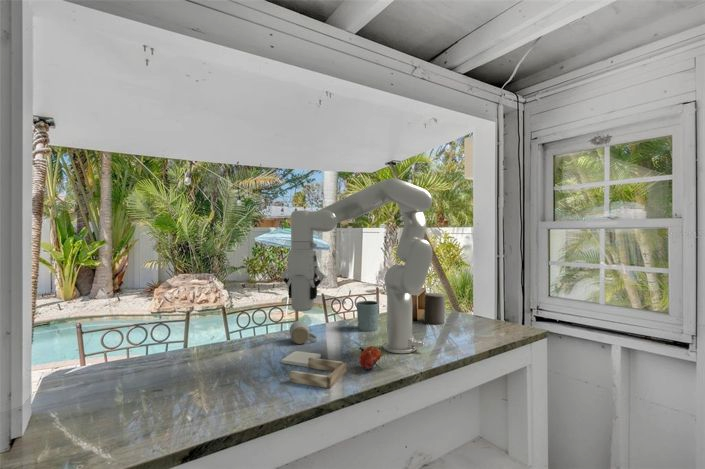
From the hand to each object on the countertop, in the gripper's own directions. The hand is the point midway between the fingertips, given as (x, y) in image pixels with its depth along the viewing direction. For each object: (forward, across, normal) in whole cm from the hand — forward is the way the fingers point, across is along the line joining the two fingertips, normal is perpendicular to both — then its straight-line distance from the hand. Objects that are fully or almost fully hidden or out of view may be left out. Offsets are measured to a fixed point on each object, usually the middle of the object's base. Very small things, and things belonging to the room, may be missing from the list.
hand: (302, 297), depth 127 cm
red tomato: (+22, -24, -1) cm, 33 cm away
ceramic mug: (+22, +10, -20) cm, 31 cm away
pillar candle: (+22, -36, -69) cm, 81 cm away
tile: (+22, +1, 0) cm, 22 cm away
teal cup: (+22, -9, -46) cm, 52 cm away
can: (+4, 0, 0) cm, 4 cm away
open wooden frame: (+22, -11, +11) cm, 27 cm away
